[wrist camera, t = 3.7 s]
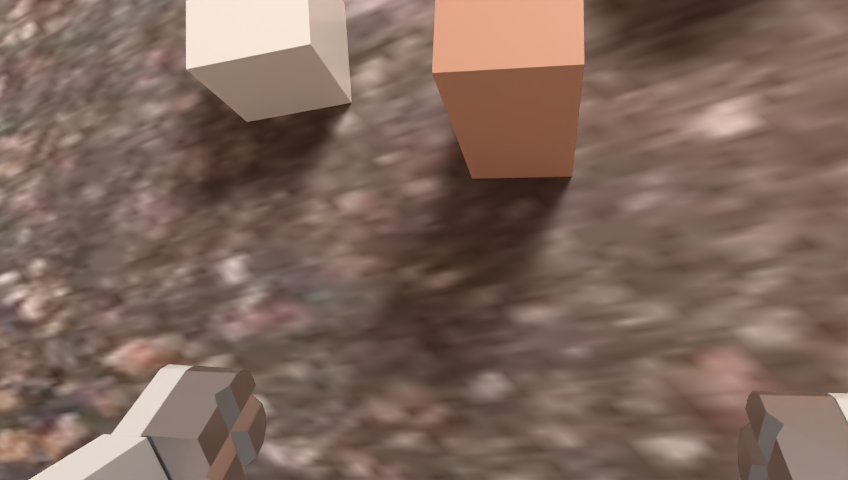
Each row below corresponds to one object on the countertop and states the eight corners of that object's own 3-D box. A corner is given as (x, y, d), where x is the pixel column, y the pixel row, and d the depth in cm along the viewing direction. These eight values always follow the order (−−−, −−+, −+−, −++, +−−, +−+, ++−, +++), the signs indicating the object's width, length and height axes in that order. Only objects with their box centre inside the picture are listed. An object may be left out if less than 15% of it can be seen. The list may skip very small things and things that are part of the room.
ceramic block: (345, 5, 28) (303, -71, 24) (352, 103, 27) (310, 44, 22) (245, 26, 29) (185, -43, 24) (247, 122, 28) (186, 69, 23)
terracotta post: (571, 84, 25) (582, -70, 17) (571, 176, 24) (584, 64, 16) (474, 89, 26) (437, -56, 17) (472, 178, 25) (432, 73, 17)
